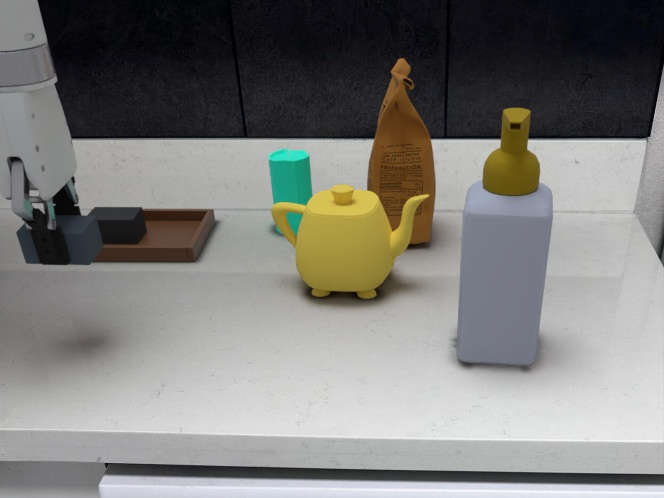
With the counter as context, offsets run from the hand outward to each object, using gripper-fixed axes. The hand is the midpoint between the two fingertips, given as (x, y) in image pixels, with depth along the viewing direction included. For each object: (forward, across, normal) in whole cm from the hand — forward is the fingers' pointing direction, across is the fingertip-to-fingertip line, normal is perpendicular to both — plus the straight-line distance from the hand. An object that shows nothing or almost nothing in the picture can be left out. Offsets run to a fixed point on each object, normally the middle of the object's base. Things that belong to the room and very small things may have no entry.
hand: (64, 251), depth 87 cm
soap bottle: (+10, +1, +49) cm, 50 cm away
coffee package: (+11, -33, +36) cm, 50 cm away
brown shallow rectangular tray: (+11, -30, -2) cm, 32 cm away
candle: (+11, -34, +20) cm, 42 cm away
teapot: (+11, -16, +30) cm, 36 cm away
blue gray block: (0, 0, 0) cm, 0 cm away
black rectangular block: (+11, -30, -5) cm, 32 cm away
